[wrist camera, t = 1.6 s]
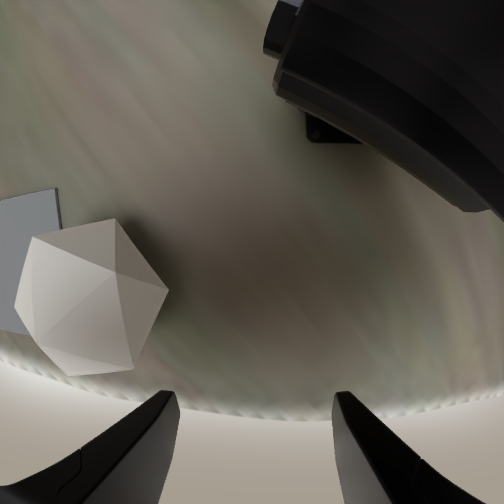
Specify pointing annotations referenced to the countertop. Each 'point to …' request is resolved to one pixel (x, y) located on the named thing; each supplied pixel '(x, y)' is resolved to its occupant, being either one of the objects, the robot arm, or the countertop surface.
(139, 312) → the die
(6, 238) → the mat
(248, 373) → the countertop surface
